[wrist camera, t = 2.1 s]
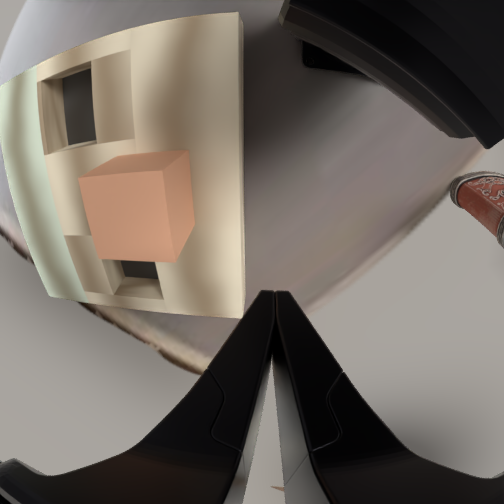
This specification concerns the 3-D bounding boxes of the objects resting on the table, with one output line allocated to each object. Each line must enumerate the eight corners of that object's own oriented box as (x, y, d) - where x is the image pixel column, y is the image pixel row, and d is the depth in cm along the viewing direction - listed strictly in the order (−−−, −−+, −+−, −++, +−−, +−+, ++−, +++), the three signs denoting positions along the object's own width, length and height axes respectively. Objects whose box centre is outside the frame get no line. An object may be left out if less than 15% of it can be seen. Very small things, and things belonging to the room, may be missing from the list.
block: (188, 149, 16) (162, 170, 12) (195, 224, 18) (175, 262, 14) (117, 156, 16) (78, 178, 12) (128, 223, 18) (98, 258, 15)
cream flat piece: (243, 23, 13) (238, 12, 11) (245, 294, 25) (242, 318, 23) (18, 84, 14) (-4, 88, 12) (62, 279, 26) (49, 296, 24)
